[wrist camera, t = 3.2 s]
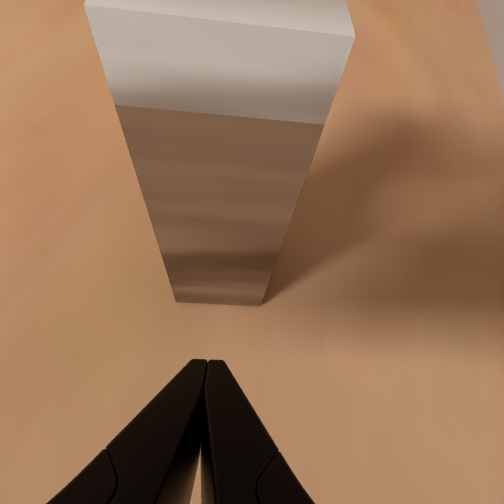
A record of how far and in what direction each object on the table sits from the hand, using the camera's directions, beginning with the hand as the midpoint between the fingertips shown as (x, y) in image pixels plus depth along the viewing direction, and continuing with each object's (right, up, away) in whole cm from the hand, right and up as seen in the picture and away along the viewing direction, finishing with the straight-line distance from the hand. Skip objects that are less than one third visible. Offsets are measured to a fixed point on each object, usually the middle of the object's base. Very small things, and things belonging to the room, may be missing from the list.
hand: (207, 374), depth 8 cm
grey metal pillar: (-1, +2, +12) cm, 12 cm away
